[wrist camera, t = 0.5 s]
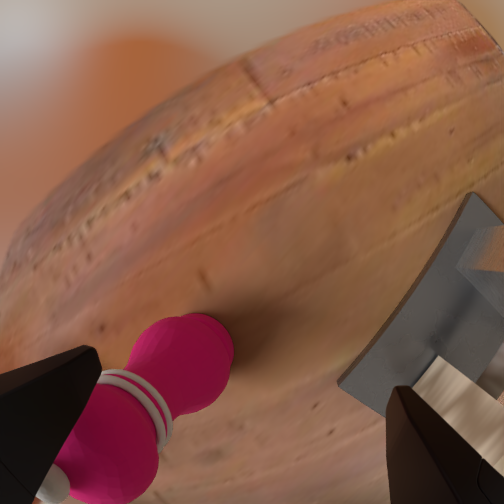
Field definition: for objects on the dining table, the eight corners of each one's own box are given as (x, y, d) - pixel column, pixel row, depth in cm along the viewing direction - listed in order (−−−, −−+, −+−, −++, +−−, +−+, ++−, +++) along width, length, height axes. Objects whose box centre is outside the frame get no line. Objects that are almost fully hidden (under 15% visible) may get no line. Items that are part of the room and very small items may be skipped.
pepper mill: (221, 295, 25) (33, 397, 5) (252, 374, 25) (164, 574, 5) (149, 320, 26) (-46, 403, 6) (179, 392, 26) (40, 538, 6)
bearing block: (443, 450, 22) (480, 507, 12) (336, 380, 24) (354, 449, 14) (550, 294, 20) (613, 305, 10) (466, 193, 22) (536, 168, 12)
